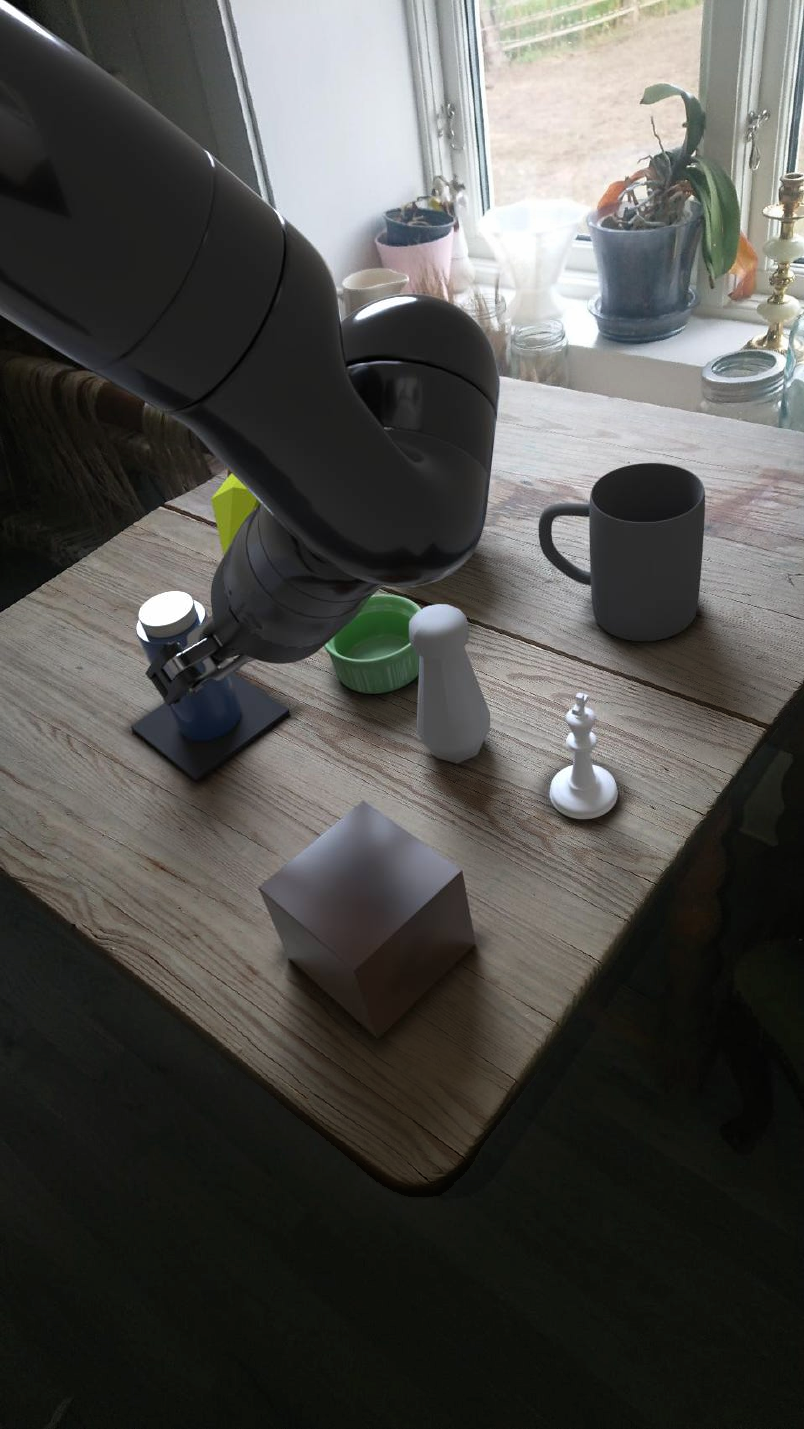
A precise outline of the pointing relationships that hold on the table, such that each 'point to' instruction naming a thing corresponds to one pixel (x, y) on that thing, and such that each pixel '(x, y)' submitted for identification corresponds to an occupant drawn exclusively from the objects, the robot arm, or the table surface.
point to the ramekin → (376, 647)
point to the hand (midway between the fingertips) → (236, 650)
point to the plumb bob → (232, 508)
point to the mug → (639, 549)
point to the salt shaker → (447, 685)
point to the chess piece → (582, 771)
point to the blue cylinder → (217, 699)
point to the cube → (371, 915)
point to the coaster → (212, 753)
